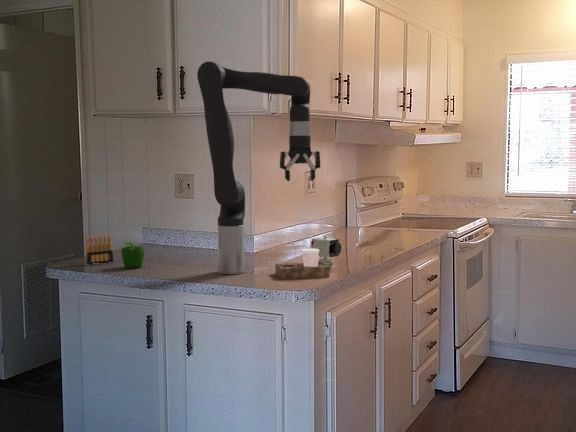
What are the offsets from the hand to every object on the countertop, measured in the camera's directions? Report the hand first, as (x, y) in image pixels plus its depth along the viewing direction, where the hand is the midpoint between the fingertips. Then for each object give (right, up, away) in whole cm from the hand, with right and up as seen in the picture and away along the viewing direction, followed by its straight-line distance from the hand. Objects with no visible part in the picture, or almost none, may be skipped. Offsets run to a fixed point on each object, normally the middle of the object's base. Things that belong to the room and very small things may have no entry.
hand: (300, 180), depth 248 cm
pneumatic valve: (+9, -32, +13) cm, 36 cm away
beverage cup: (+4, -33, 0) cm, 34 cm away
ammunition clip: (-78, -32, +28) cm, 89 cm away
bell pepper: (-63, -32, +18) cm, 73 cm away
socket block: (+1, -33, -1) cm, 33 cm away
